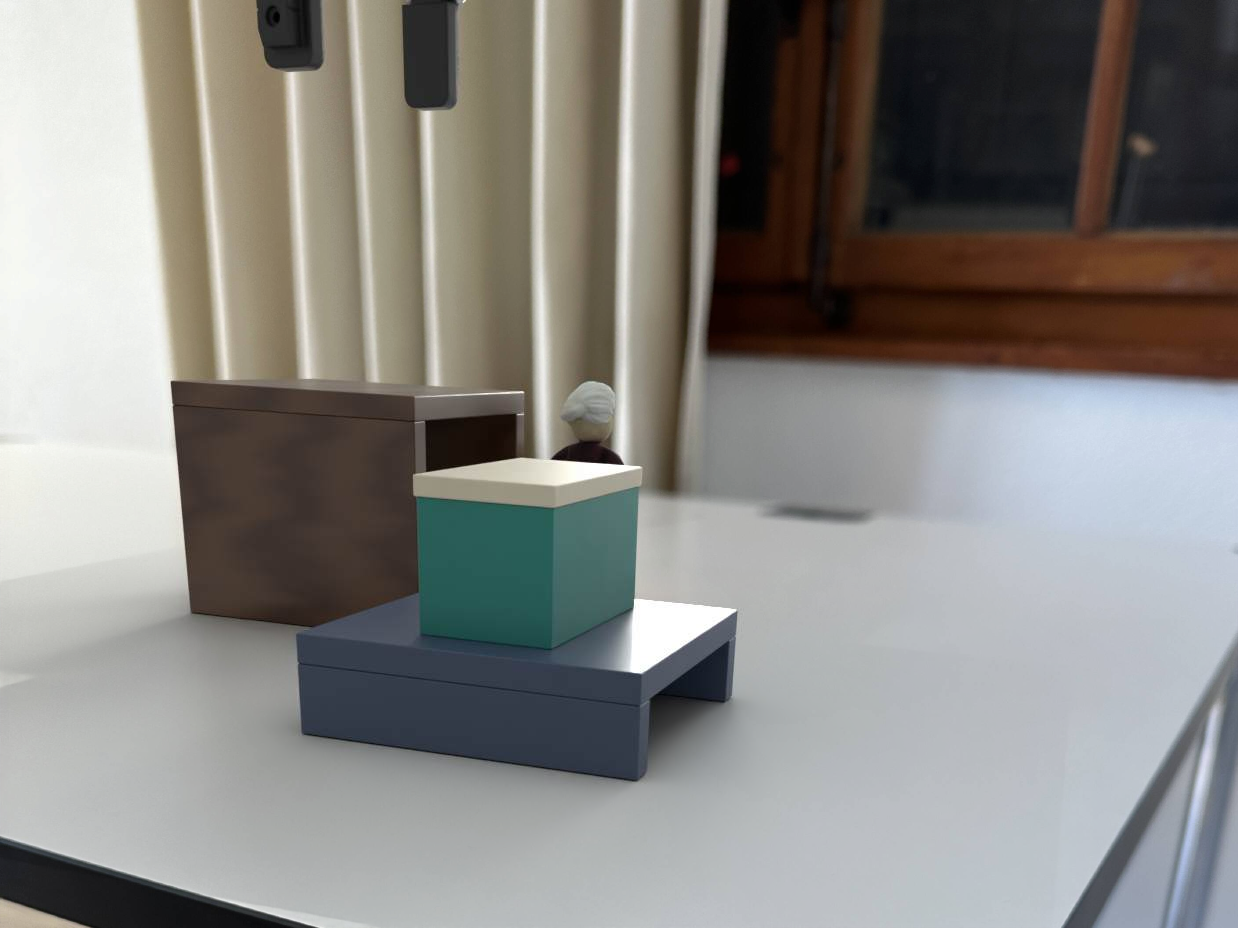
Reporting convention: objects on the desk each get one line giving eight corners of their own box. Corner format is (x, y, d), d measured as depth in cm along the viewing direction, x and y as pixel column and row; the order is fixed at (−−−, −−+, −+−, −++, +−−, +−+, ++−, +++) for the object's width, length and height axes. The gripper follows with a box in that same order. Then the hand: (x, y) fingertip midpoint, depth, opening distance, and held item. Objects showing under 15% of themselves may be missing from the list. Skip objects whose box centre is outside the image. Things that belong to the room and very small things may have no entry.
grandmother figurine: (653, 597, 83) (662, 384, 79) (626, 606, 80) (634, 385, 75) (547, 583, 86) (550, 377, 81) (517, 592, 83) (518, 377, 78)
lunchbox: (415, 635, 51) (412, 474, 49) (519, 594, 60) (519, 457, 58) (552, 650, 49) (555, 485, 47) (637, 607, 58) (643, 466, 56)
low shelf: (301, 733, 52) (295, 632, 50) (455, 662, 64) (454, 580, 63) (637, 781, 48) (641, 673, 47) (732, 696, 61) (738, 609, 59)
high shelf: (190, 612, 72) (169, 380, 68) (323, 576, 85) (313, 378, 80) (419, 639, 69) (413, 396, 64) (523, 597, 81) (525, 391, 77)
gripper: (385, -338, 53) (398, 123, 59) (104, -549, 41) (157, 58, 47) (546, -370, 50) (543, 118, 56) (295, -608, 38) (326, 47, 44)
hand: (367, 90), depth 51 cm, fingers open, 8 cm apart
